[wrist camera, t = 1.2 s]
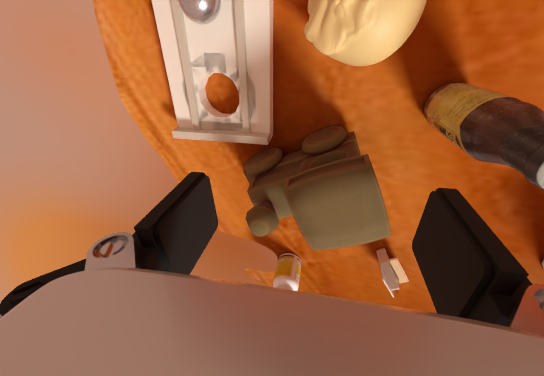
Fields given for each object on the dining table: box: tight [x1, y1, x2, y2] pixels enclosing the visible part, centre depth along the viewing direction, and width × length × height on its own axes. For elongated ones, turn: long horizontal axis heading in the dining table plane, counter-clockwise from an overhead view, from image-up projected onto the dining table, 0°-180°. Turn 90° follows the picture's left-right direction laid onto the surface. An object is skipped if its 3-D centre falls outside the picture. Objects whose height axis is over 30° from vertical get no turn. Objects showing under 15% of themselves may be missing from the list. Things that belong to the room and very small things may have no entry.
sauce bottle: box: [424, 83, 544, 189], centre depth 25 cm, size 7×6×20 cm
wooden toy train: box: [244, 126, 391, 250], centre depth 36 cm, size 20×11×17 cm, turn 115°
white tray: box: [152, 0, 273, 145], centre depth 34 cm, size 24×16×4 cm, turn 0°
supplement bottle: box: [273, 253, 301, 291], centre depth 52 cm, size 5×5×10 cm
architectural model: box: [376, 248, 409, 297], centre depth 47 cm, size 3×7×7 cm, turn 33°
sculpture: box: [304, 0, 427, 66], centre depth 26 cm, size 12×12×11 cm
